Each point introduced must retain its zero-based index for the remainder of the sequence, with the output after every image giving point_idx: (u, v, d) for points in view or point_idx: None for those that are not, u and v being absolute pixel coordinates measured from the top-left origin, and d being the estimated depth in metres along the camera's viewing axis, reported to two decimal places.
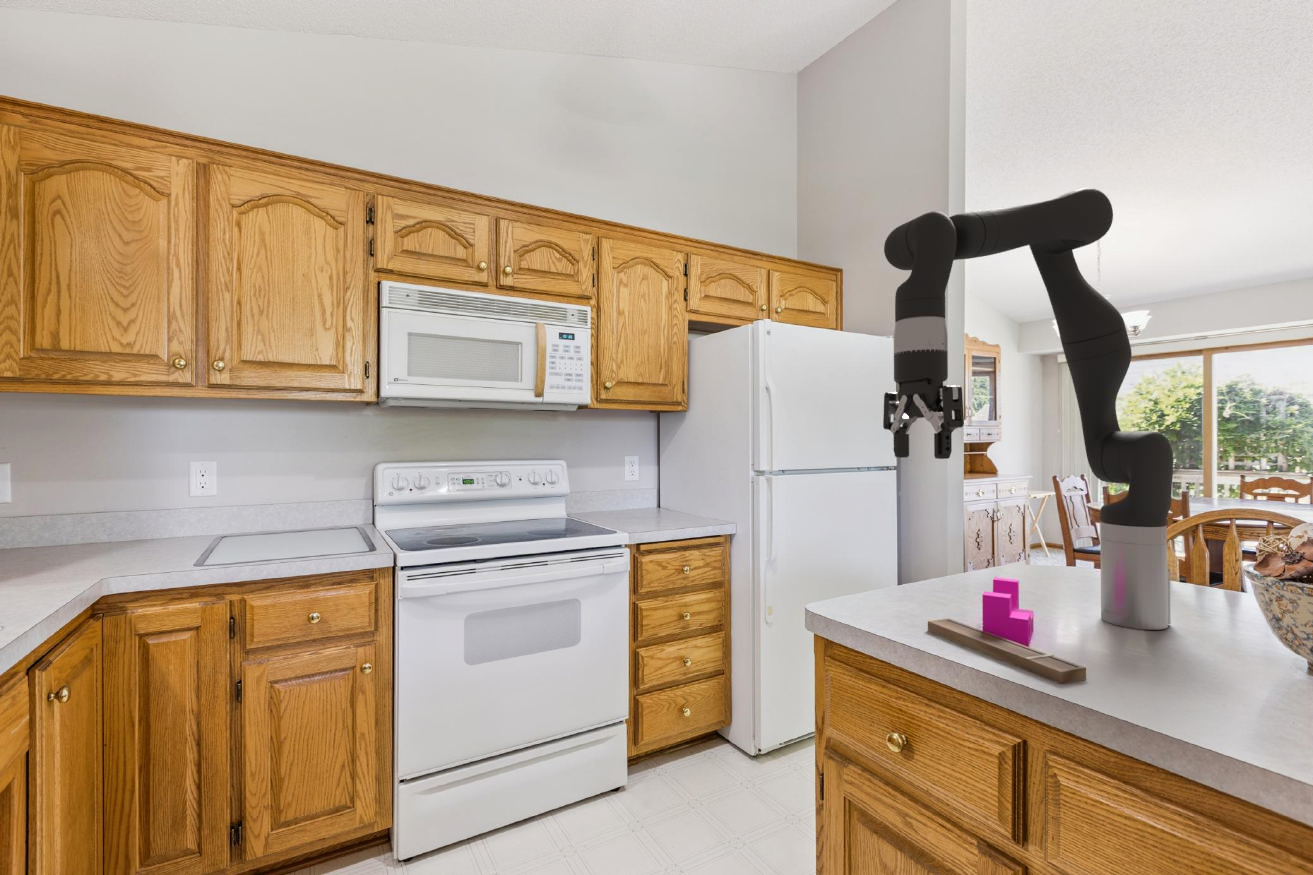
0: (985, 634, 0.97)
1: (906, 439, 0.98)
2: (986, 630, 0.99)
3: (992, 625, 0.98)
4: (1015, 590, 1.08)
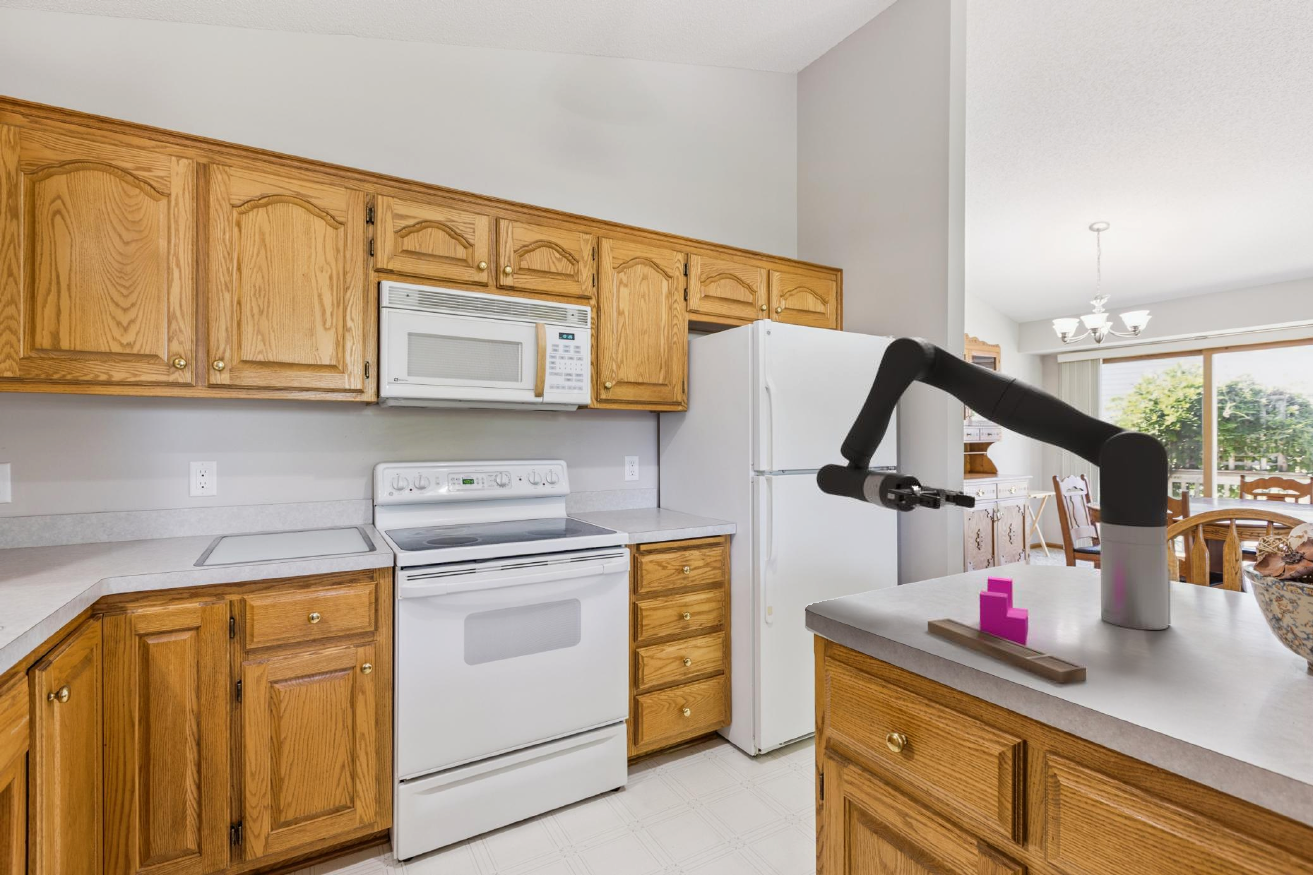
0: (985, 634, 0.97)
1: (959, 496, 1.18)
2: (983, 629, 0.99)
3: (989, 624, 0.99)
4: (1009, 589, 1.08)
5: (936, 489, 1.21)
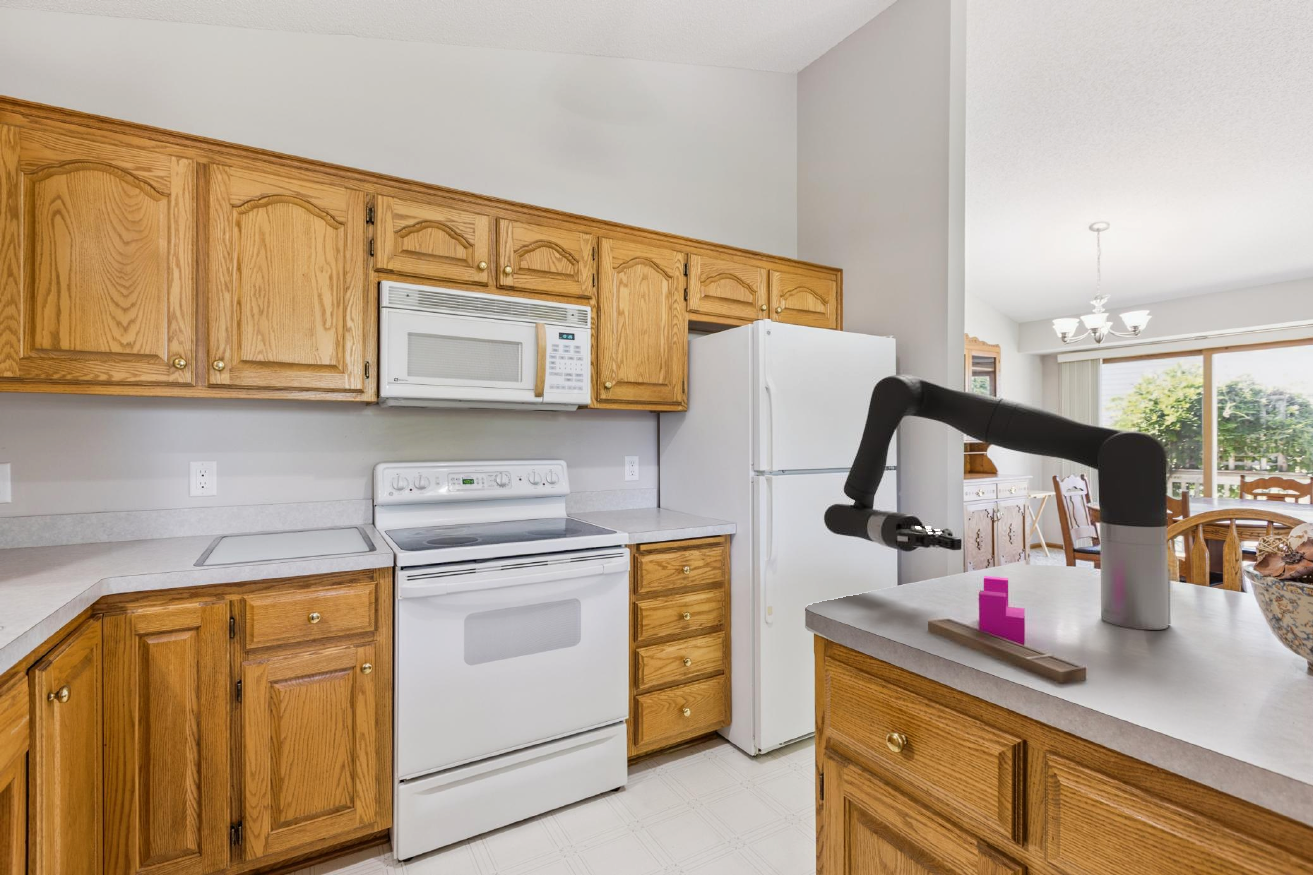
0: (985, 634, 0.97)
1: None
2: (982, 629, 0.99)
3: (988, 624, 0.99)
4: (1005, 589, 1.09)
5: (929, 529, 1.22)
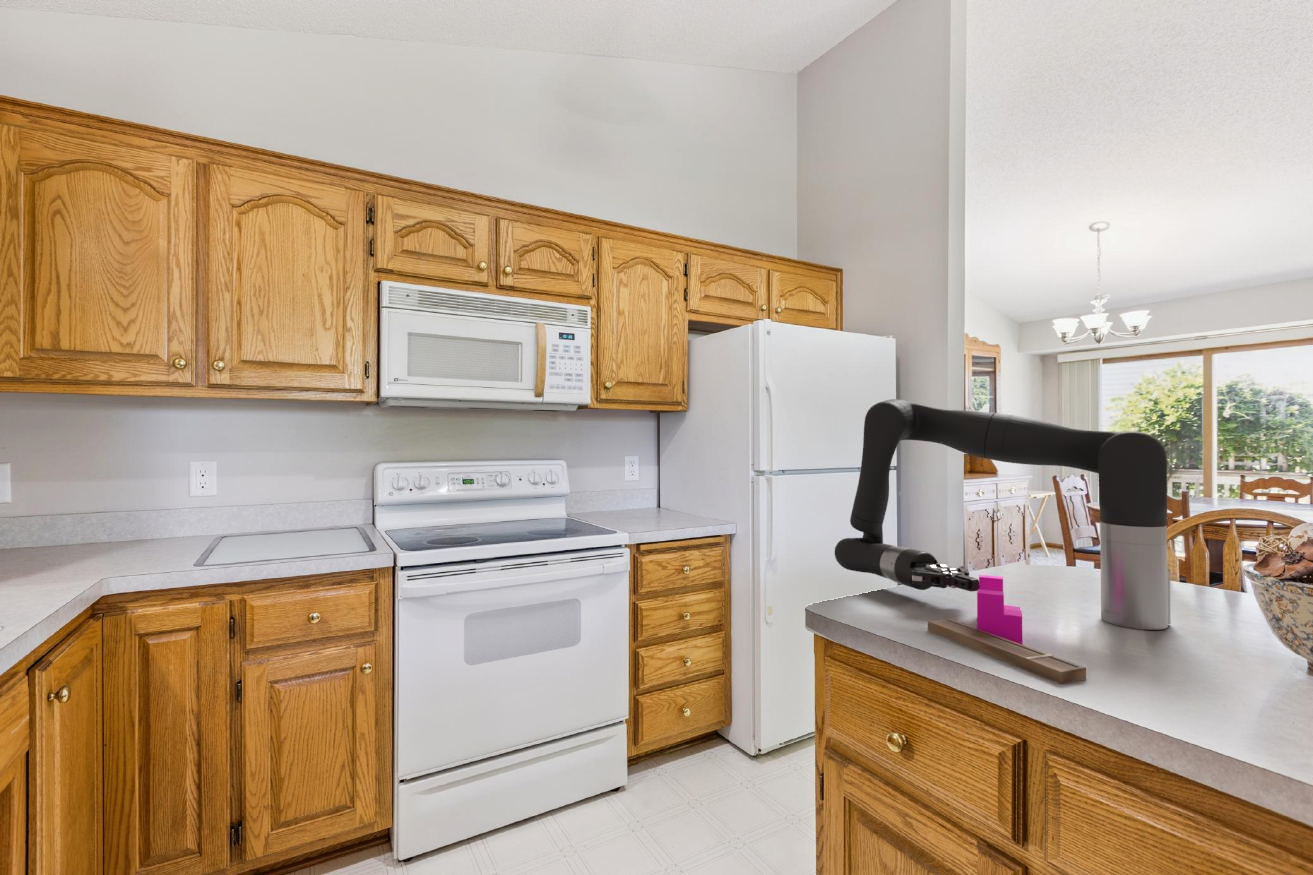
0: (985, 634, 0.97)
1: None
2: (981, 628, 1.00)
3: (987, 623, 0.99)
4: (1001, 587, 1.09)
5: (945, 568, 1.18)
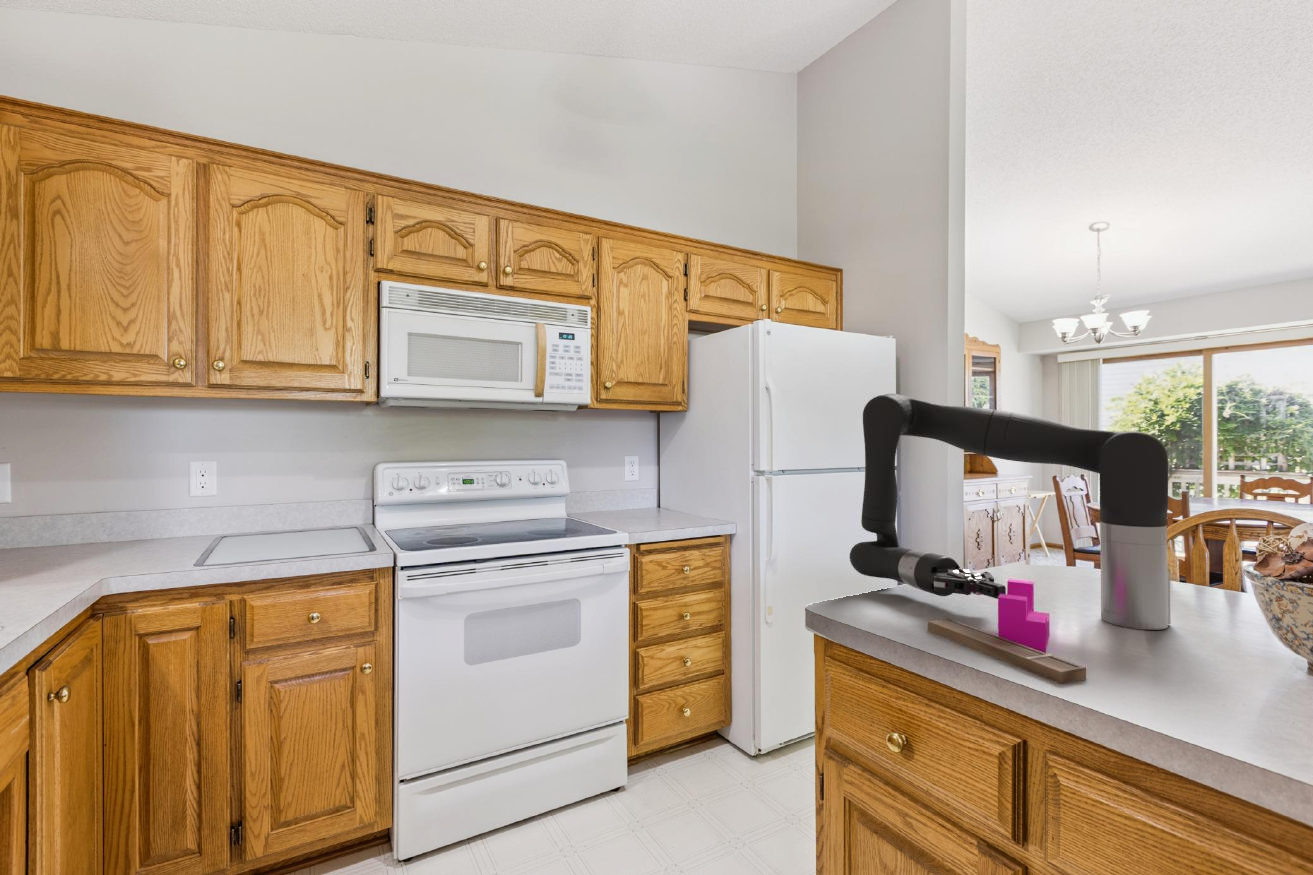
0: (985, 634, 0.97)
1: None
2: (1002, 633, 0.97)
3: (1008, 628, 0.96)
4: (1030, 593, 1.05)
5: (968, 574, 1.13)
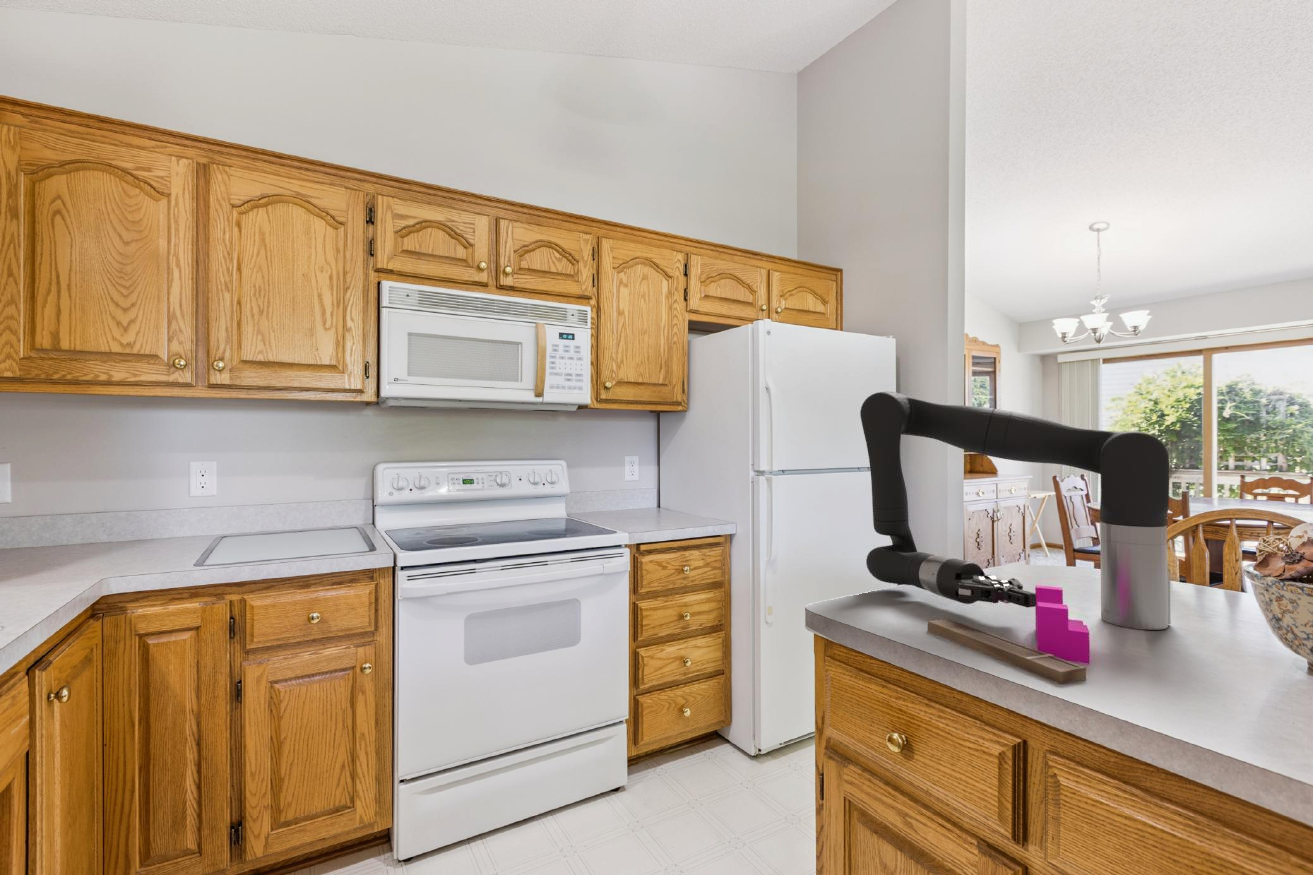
0: (985, 634, 0.97)
1: None
2: (1042, 644, 0.91)
3: (1049, 639, 0.91)
4: (1060, 599, 1.01)
5: (995, 580, 1.07)
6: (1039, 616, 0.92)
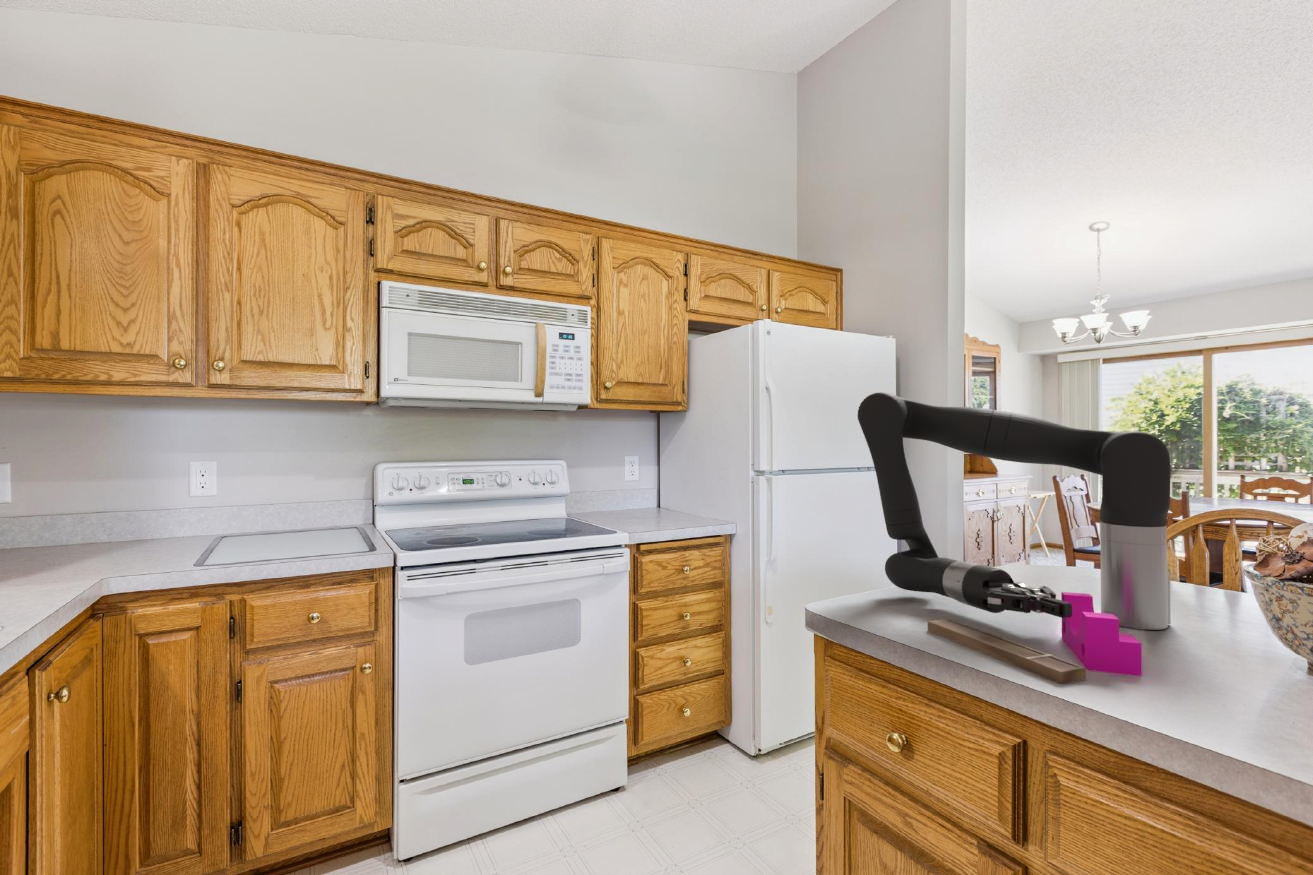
0: (985, 634, 0.97)
1: None
2: (1091, 657, 0.86)
3: (1098, 651, 0.86)
4: (1090, 606, 0.97)
5: (1025, 588, 1.01)
6: (1088, 627, 0.86)
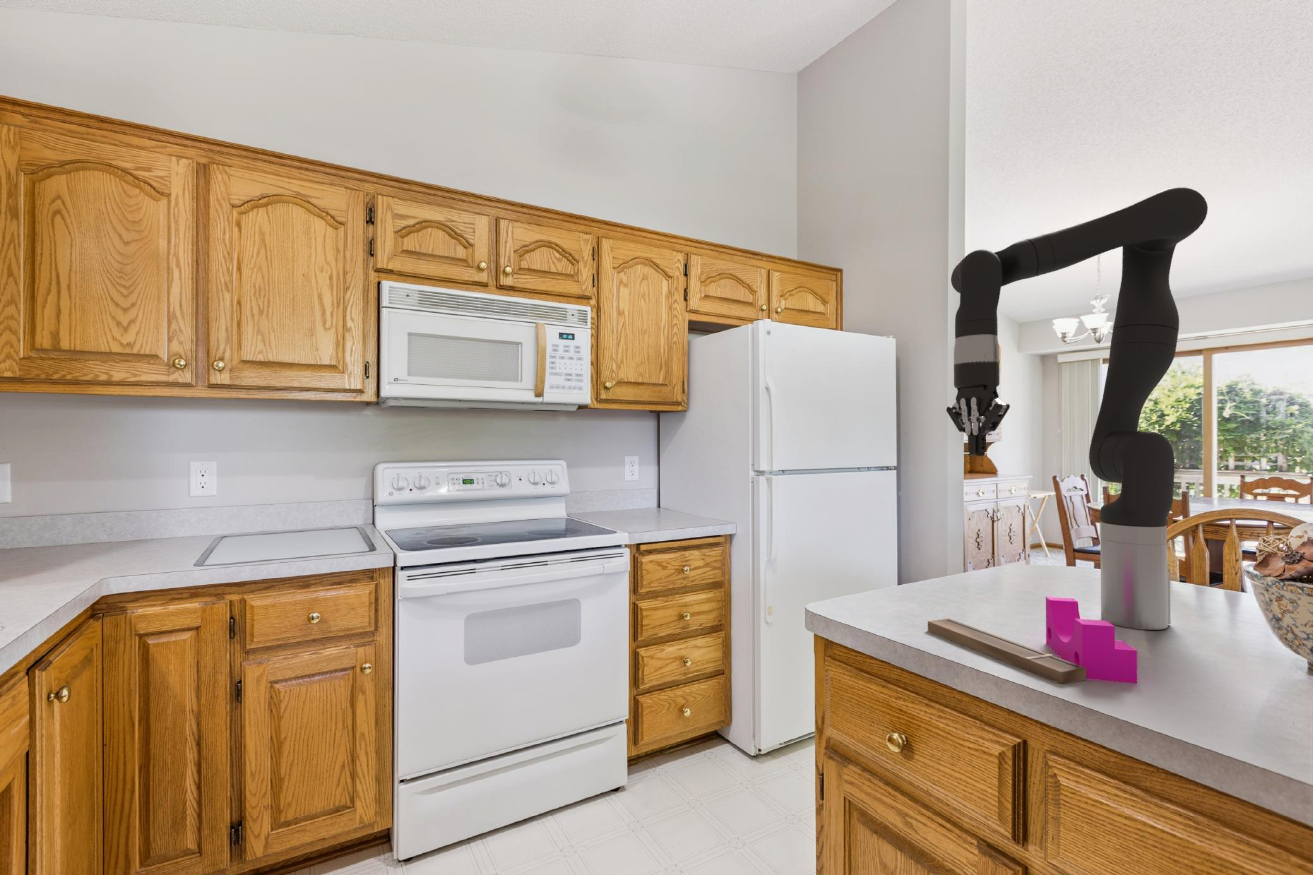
0: (985, 634, 0.97)
1: None
2: (1087, 666, 0.83)
3: (1094, 660, 0.83)
4: (1076, 611, 0.94)
5: None
6: (1083, 635, 0.83)
